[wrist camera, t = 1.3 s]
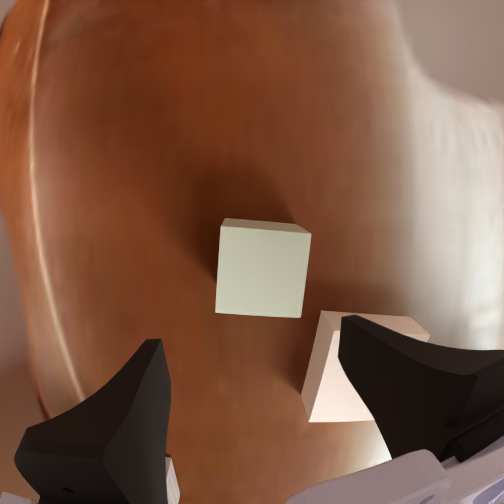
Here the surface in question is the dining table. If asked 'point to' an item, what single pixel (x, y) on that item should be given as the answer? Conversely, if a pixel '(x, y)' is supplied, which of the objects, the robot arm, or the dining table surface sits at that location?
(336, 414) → the cream block
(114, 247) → the dining table surface
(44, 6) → the dining table surface
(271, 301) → the sage block
